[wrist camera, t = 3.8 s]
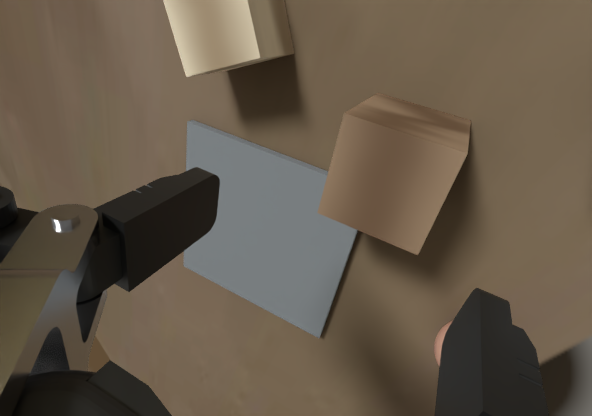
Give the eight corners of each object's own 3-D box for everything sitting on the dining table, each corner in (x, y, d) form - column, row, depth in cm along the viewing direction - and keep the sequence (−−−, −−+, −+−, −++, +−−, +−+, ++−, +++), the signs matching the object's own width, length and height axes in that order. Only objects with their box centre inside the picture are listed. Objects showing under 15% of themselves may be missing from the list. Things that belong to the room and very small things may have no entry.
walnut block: (470, 120, 18) (467, 153, 13) (432, 202, 20) (417, 255, 16) (378, 92, 19) (343, 113, 14) (353, 172, 22) (317, 212, 17)
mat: (373, 188, 22) (370, 192, 21) (321, 333, 29) (319, 338, 28) (192, 119, 25) (187, 121, 25) (188, 262, 33) (183, 266, 32)
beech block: (280, -25, 19) (239, -37, 16) (295, 53, 20) (260, 57, 17) (210, 1, 21) (162, -4, 18) (228, 70, 23) (186, 76, 19)
